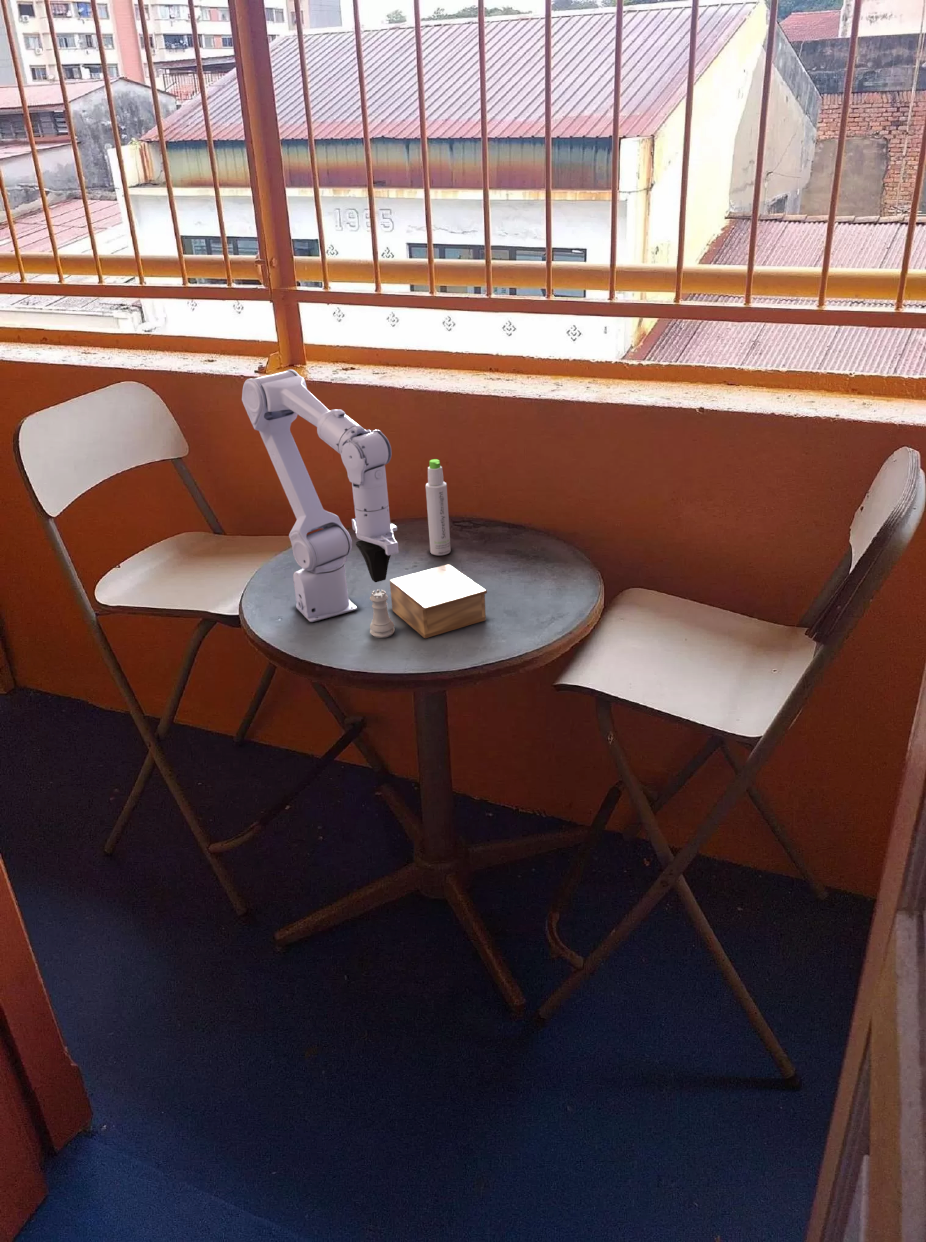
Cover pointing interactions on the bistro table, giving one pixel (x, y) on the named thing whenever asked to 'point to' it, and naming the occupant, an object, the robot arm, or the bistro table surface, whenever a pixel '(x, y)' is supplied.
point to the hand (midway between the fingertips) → (378, 579)
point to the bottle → (437, 510)
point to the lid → (437, 587)
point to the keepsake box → (438, 614)
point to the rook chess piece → (380, 616)
